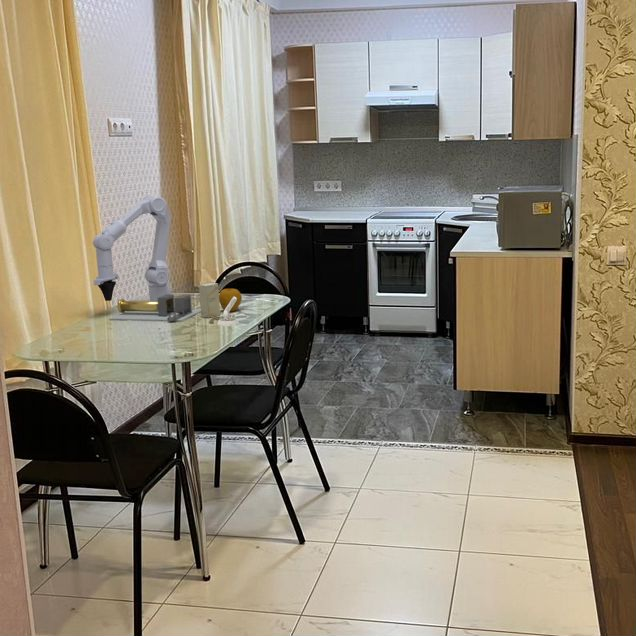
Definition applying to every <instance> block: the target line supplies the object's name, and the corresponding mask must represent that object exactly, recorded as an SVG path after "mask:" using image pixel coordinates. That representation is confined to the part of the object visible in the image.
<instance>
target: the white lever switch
mask: <svg viewBox="0 0 636 636" xmlns="http://www.w3.org/2000/svg"><path fill="white" fill-rule="evenodd" d="M236 300H237V298H236V297H235V296H234V297H233V298H232V299H231V301H230V303H229V304H228V306H227V307H226V309H225V310H224V309H223V314H222V313H221V314H222V318H220V319H218V321H217V324H218V325H217V326H219V325H221V326H220V327H232V326H237V325H238V324H240V322H239V320H238V318H236V317H231V314H230V312H229V311H230V310H231V308H232V307H233V305H234V303H235V302H236Z"/></svg>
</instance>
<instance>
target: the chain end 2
mask: <svg viewBox="0 0 636 636" xmlns="http://www.w3.org/2000/svg"><path fill="white" fill-rule="evenodd" d="M174 303H175V312H176V313H174V315H169V318H167V320H168V321H167V322H176V321H175V320H177V319H180V318H182V317H184V316H186V315H188V314H190V313H192V310H193V308H192V307H193V306H192V297H191V294H180V295H179V296H176V297H174Z"/></svg>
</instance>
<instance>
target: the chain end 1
mask: <svg viewBox="0 0 636 636" xmlns="http://www.w3.org/2000/svg"><path fill="white" fill-rule="evenodd" d="M174 298H175V294H172V293H171V294H166V295H164V296H161V297H159V298H157V300H158V311H159V316H162V317H166V316H169V315H171V314H173V313H175V300H174ZM166 301H167V302H168V303H169V310H168V311H167V305H166Z"/></svg>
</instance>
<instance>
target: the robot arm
mask: <svg viewBox="0 0 636 636" xmlns="http://www.w3.org/2000/svg"><path fill="white" fill-rule="evenodd" d="M144 214H149V215H151V216H152V217H153V218H154V220H155V221H156V225H155V226H156V227H155V233H154V240H153V250H152V256H151V261H150V262H149V263H148V268H147V269H146V271H145V274H144V277H145V280H146V281H147V282H148V293H149V294H148V295H149V296H148V297H149V301H158V300H157V298H159V297H161V296H164V295H166V294H172V289H171V286H170V285H169V284H167V283H168V282H169V277H170V276H169V272H168V268H169V267H168V265H167V263H166V259H167V251H168V245H169V237H170V235H169V234H170V229H171V221H172V216H171V213H170V210H169V207H168V202H167V201H166V200H165V199H164V198H163V197H162V196H159V195H158V196H157V195H156V196H155V195H154V196H152V195H145V196H144V197H143V198H142V199H141V200H139V201H138V202H137V203H136V205H134V206H133V207H132V208H131V209H130V210H129V211H128V212H127V213H126V214H125V215H124V216H123V217H122V218H121V219H119V220H117V219H116V220H113V221H111V222H110V223H109V224H110V225H109V226H108V227H106V228H105V229H102V230H101V232H100V233H99V234H97V235H95V236H94V239H93V240H92V245H93V247H94V248H95V253H96V266H97V276H96V277H95V279H94V280H93V284H94V286H98V288H99V289H100V291H101V293H102V295H103V299H104V301H105V302H111V301H112V299H113V295H114V294H113V293H114V289H115V286H116V285H117V282H116V280H119V273H114V266H113V265H114V263H113V253H112V248H113V245H114V243H115V242H116V241H117V240H119V238H120V237H122V236H123V235H124V234H125V233H126V232H127V227H128V226H129V225H130V224H132V223H133V222H134V221H135V220H137V219H138V218H139V217H140V216H141V215H144Z"/></svg>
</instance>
